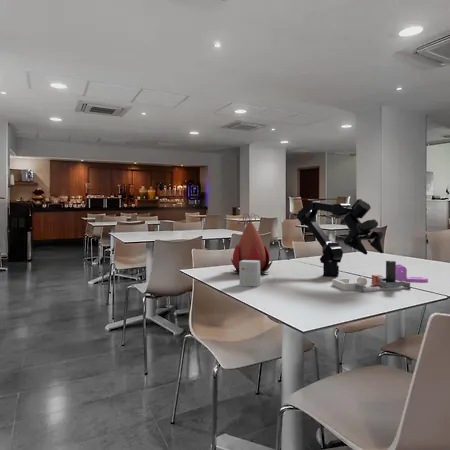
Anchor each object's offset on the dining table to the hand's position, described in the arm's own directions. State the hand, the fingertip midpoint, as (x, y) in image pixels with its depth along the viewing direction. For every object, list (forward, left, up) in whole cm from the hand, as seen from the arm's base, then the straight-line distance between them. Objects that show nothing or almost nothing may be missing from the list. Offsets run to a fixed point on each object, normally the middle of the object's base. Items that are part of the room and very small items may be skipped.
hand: (374, 253), depth 157 cm
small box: (-49, -18, -14) cm, 54 cm away
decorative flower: (-58, +10, -14) cm, 60 cm away
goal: (-10, -7, -13) cm, 18 cm away
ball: (-5, -4, -11) cm, 13 cm away
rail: (+3, -7, -13) cm, 16 cm away
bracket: (+15, +16, -14) cm, 26 cm away
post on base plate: (+4, -2, -13) cm, 14 cm away
